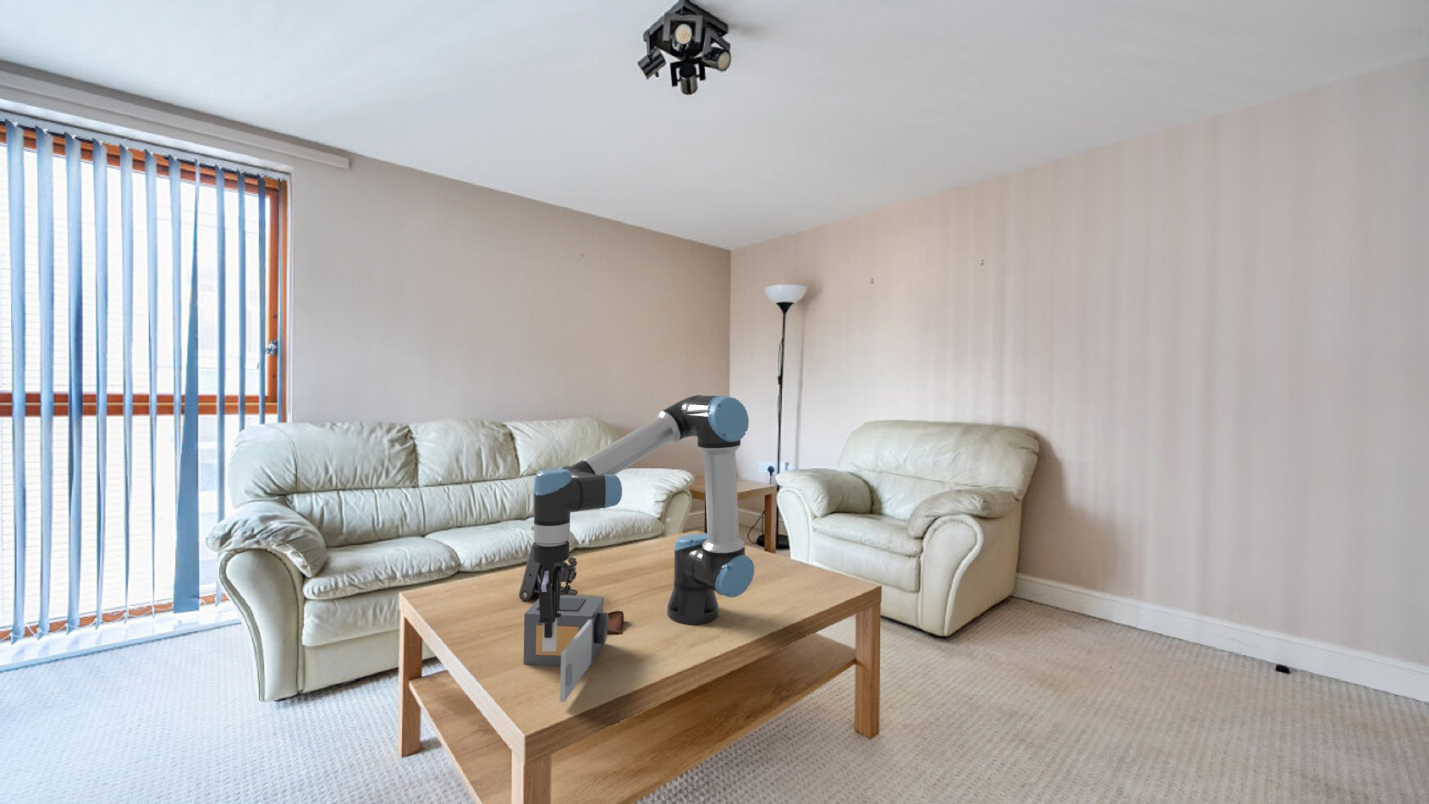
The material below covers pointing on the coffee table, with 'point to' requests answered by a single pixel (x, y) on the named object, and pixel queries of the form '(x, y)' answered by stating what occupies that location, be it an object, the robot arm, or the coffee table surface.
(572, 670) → the door
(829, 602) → the coffee table surface
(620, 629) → the sunglasses case
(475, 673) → the coffee table surface
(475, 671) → the coffee table surface
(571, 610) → the panel
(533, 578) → the camera
